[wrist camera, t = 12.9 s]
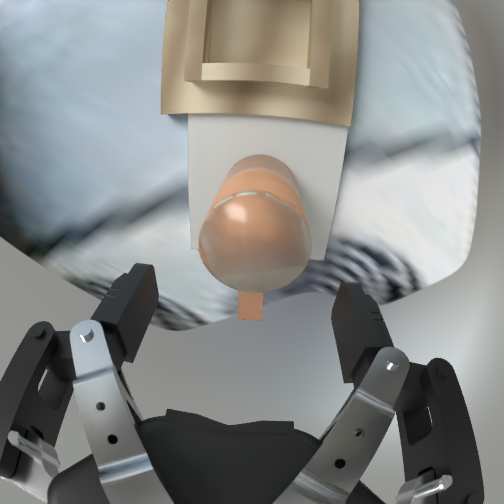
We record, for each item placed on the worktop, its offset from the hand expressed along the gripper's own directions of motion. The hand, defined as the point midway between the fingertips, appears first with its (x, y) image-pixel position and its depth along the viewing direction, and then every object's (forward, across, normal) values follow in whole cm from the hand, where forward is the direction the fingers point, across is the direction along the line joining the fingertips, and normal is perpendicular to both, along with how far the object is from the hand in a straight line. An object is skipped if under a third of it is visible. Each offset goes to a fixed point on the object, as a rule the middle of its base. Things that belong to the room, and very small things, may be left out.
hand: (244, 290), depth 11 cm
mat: (+12, 0, 0) cm, 12 cm away
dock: (+12, +1, -13) cm, 18 cm away
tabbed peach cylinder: (+12, 0, +2) cm, 12 cm away
